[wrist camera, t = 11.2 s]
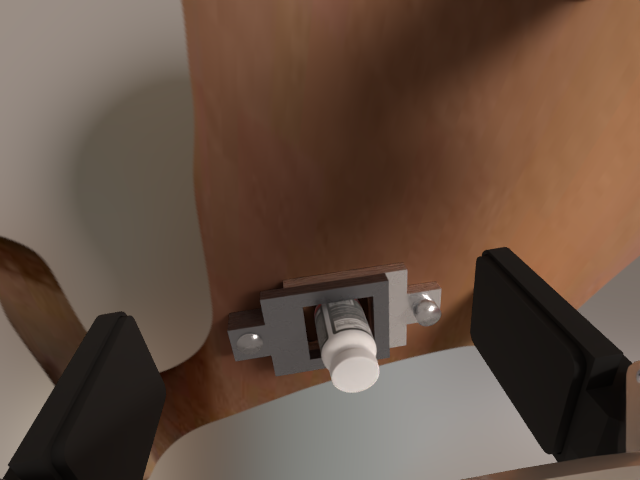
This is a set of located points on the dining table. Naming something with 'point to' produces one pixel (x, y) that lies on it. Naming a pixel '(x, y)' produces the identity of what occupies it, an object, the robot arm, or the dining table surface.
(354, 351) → the pill bottle
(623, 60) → the dining table surface
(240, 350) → the knobbed square frame
